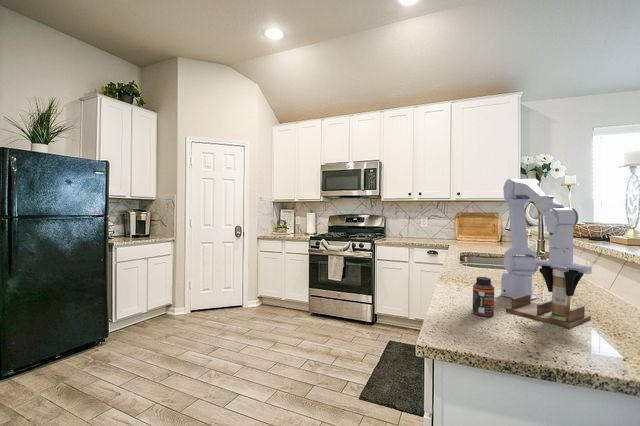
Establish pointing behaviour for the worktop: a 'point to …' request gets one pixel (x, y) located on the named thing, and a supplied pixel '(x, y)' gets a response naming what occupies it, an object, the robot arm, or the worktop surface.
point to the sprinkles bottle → (560, 293)
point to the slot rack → (547, 312)
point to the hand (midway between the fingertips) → (560, 293)
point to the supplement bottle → (483, 297)
